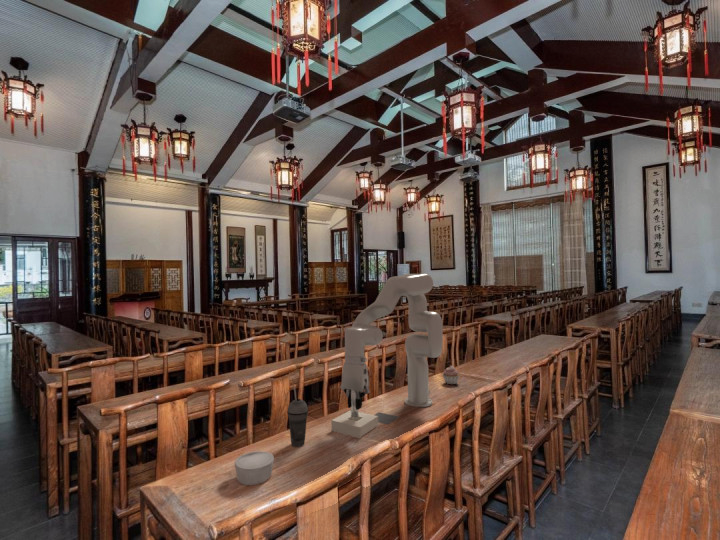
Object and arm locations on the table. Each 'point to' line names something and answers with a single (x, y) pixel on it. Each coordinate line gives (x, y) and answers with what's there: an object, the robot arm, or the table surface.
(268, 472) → the ramekin
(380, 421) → the mat
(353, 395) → the peg
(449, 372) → the cupcake
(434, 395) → the table surface
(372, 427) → the hole block
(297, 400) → the beverage cup
